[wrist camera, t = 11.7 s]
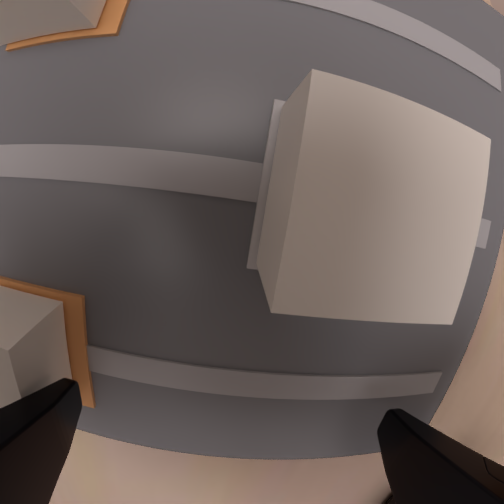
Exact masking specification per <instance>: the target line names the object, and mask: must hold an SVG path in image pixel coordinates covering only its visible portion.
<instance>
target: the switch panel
mask: <svg viewBox="0 0 504 504" xmlns="http://www.w3.org/2000/svg"><path fill="white" fill-rule="evenodd" d="M312 69H315V70H319V71H323V72H327V73H331V74H334V75H338V76H341V77H345V78H348V79H352V80H355V81H358V82H361V83H364V84H367V85H370V86H373V87H376V88H379V89H382V90H385V91H388V92H390V93H393V94H396V95H398V96H401V97H403V98H406V99H409V100H411V101H414V102H416V103H418V104H421V105H423V106H425V107H428V108H430V109H432V110H435V111H437V112H439V113H441V114H443V115H445V116H448V117H450V118H452V119H454V120H456V121H458V122H460V123H462V124H464V125H466V126H468V127H470V128H472V129H473V130H475V131H477V132H479V133H481V134H483V135H485V136H486V137H488V138H490V139H491V148H490V160H489V170H488V179H487V186H486V193H485V200H484V206H483V212H482V217H481V223H480V228H479V232H478V237H477V242H476V246H475V250H474V254H473V258H472V262H471V266H470V270H469V273H468V277H467V280H466V284H465V287H464V290H463V294H462V297H461V300H460V303H459V306H458V309H457V312H456V315H455V318H454V320H453V323H452V325H447V324H415V323H393V322H375V321H359V320H345V319H332V318H320V317H309V316H298V315H288V314H278V313H271V311H270V308H269V305H268V301H267V298H266V294H265V291H264V288H263V284H262V281H261V278H260V274H259V271H258V267H257V264H256V261H257V255H258V249H259V243H260V237H261V231H262V225H263V219H264V213H265V207H266V201H267V195H268V189H269V183H270V177H271V171H272V165H273V159H274V153H275V147H276V140H277V134H278V128H279V122H280V116H281V109H282V106H283V105H284V104H285V102H286V101H287V100H288V98H289V97H290V96H291V95H292V93H293V92H294V91H295V90H296V88H297V87H298V86H299V85H300V83H301V82H302V81H303V80H304V78H305V77H306V76H307V75H308V73H309V72H310V71H311V70H312ZM503 229H504V16H503V15H501V14H500V13H499V12H497V11H496V10H494V8H492V7H491V6H490V5H488V4H487V3H485V2H484V1H483V0H106V2H105V5H104V8H103V10H102V13H101V16H100V18H99V21H98V24H97V27H96V28H90V29H81V30H73V31H67V32H60V33H54V34H49V35H44V36H39V37H34V38H29V39H25V40H21V41H17V42H13V43H9V44H5V45H2V46H0V285H1V286H4V287H8V288H11V289H15V290H19V291H22V292H26V293H30V294H34V295H38V296H42V297H46V298H50V299H54V300H58V301H62V302H63V311H64V322H65V332H66V340H67V348H68V355H69V362H70V368H71V374H72V380H75V381H77V382H78V384H79V389H80V394H81V399H82V410H81V414H80V417H79V420H78V423H77V427H76V429H79V430H82V431H86V432H89V433H92V434H96V435H100V436H103V437H107V438H111V439H115V440H119V441H123V442H127V443H132V444H137V445H141V446H146V447H151V448H157V449H162V450H168V451H175V452H181V453H189V454H197V455H205V456H215V457H227V458H242V459H316V458H331V457H343V456H353V455H362V454H369V453H376V452H381V450H380V445H379V441H378V437H377V429H378V426H379V424H380V422H381V421H382V419H383V417H384V415H385V413H386V411H387V410H389V409H394V408H401V409H403V410H404V411H406V412H407V413H409V414H411V415H412V416H414V417H416V418H417V419H419V420H421V421H422V422H424V423H426V424H429V423H430V421H431V419H432V417H433V416H434V414H435V412H436V410H437V409H438V407H439V405H440V403H441V401H442V399H443V398H444V396H445V394H446V392H447V390H448V388H449V386H450V384H451V382H452V380H453V378H454V376H455V374H456V372H457V369H458V367H459V365H460V363H461V361H462V358H463V356H464V354H465V352H466V349H467V347H468V344H469V342H470V340H471V337H472V335H473V332H474V329H475V327H476V324H477V321H478V319H479V316H480V313H481V310H482V307H483V304H484V301H485V298H486V295H487V292H488V289H489V285H490V282H491V279H492V275H493V271H494V268H495V264H496V260H497V256H498V252H499V248H500V243H501V239H502V234H503Z"/></svg>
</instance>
